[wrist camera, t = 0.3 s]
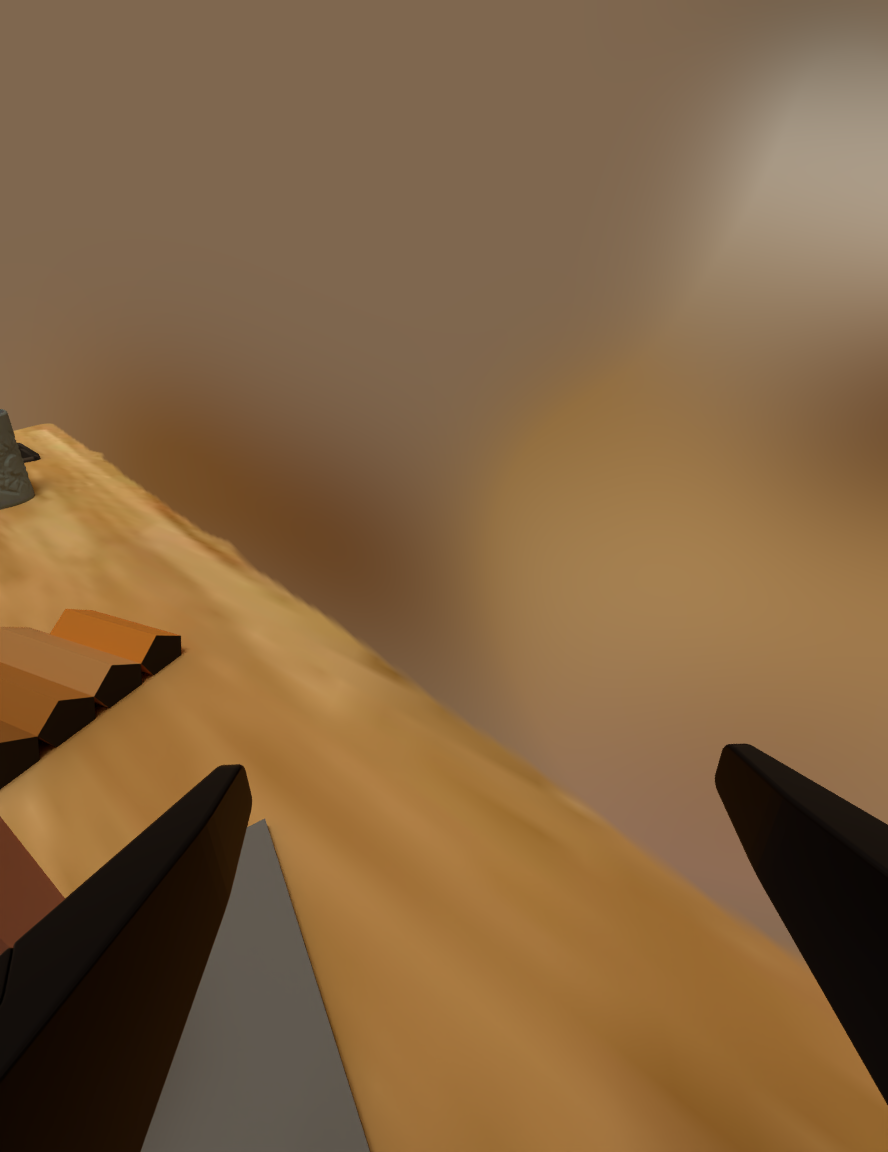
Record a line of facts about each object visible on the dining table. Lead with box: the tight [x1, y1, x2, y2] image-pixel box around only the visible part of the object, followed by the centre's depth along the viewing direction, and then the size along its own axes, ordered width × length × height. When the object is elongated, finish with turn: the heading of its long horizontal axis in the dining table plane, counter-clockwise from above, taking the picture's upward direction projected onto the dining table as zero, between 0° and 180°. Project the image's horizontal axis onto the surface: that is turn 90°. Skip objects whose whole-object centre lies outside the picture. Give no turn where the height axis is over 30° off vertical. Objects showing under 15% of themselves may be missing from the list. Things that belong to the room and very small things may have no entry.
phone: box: [17, 443, 41, 463], centre depth 88 cm, size 8×1×15 cm
